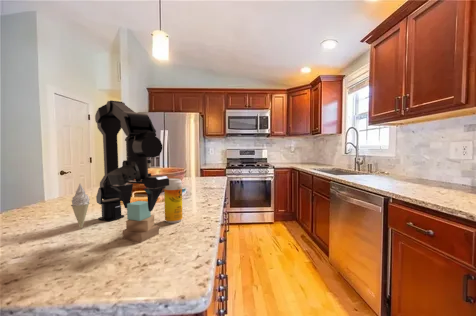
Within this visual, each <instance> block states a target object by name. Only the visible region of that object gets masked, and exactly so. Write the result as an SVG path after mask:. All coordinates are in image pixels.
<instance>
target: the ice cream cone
mask: <svg viewBox="0 0 476 316" xmlns="http://www.w3.org/2000/svg"><path fill="white" fill-rule="evenodd" d="M71 203H72V204H70V206H71V207H72V210H73V213H74V216H75V219H76V221H77V224H78V226H79V229H81V230H82V229H83V227H84V223H85V220H86V216H87V213H88V209H89V206H90V196H89V195H88V194H86V190H85V189H84V187H83V186H82V183H79V184H78V187H77V189H76V190H75V195H73V196H72V198H71Z"/></svg>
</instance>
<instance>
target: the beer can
mask: <svg viewBox="0 0 476 316" xmlns="http://www.w3.org/2000/svg"><path fill="white" fill-rule="evenodd" d="M163 190H164V191H163V192H164V198H163V199H164V221H166V223H168V224H177V223H180V222H181V221H182V220H183V181H182V180H181V178H177V177H176V178H174V177H173V178H169V185H168V186H166V188H164V189H163Z"/></svg>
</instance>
